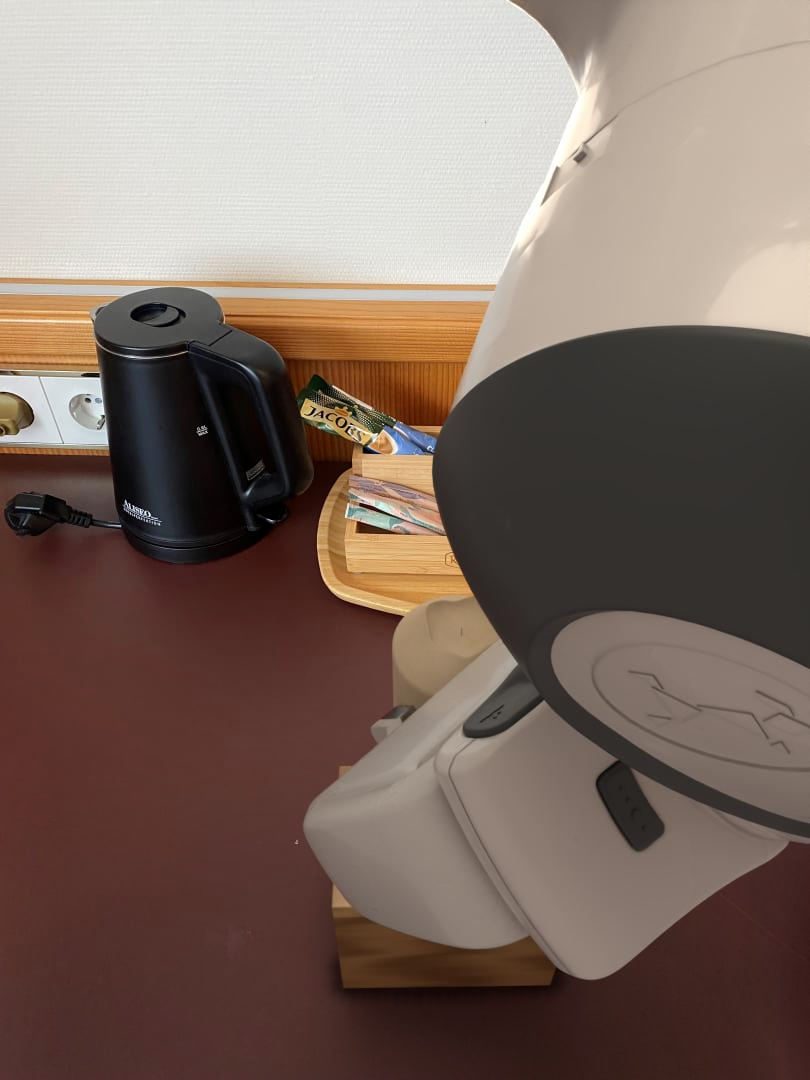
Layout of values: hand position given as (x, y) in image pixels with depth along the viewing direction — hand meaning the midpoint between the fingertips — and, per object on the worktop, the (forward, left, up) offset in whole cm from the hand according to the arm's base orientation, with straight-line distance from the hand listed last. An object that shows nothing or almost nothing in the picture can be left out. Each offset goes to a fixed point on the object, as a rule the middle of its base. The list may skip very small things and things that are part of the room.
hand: (445, 685), depth 34 cm
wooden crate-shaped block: (0, -1, -22) cm, 22 cm away
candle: (0, -1, -6) cm, 6 cm away
